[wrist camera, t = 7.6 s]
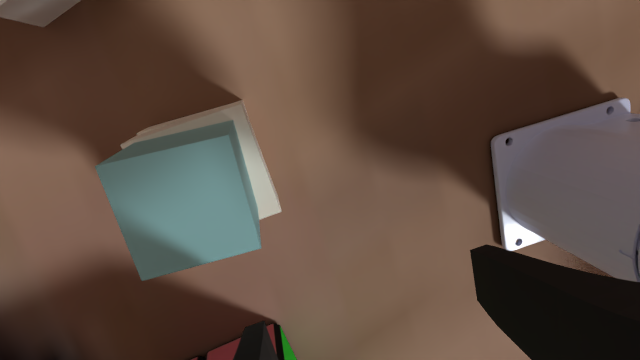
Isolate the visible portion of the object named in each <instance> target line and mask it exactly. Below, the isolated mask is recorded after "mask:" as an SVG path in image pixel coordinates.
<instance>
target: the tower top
mask: <svg viewBox="0 0 640 360" xmlns="http://www.w3.org/2000/svg"><path fill="white" fill-rule="evenodd" d="M230 120H233V121H234V124H235V128H236V131H237V135H238V139H239V142H240V146H241V149H242V153H243V157H244V160H245V164H246V167H247V171H248V174H249V178H250V182H251V185H252V189H253V192H254V196H255V199H256V203H257V207H258V215H259V220H260V219H263V218H265V217H268V216H271V215H273V214H276V213H279V212H282V211H281V207H280V203H279V200H278V196H277V193H276V190H275V187H274V185H273V182H272V179H271V177H270V174H269V171H268V169H267V166H266V163H265V161H264V158H263V155H262V153H261V150H260V147H259V145H258V142H257V139H256V137H255V134H254V131H253V129H252V126H251V123H250V121H249V118H248V115H247V113H246V110H245V107H244V105H243V102H242V100H240V101H237V102H234V103H231V104H228V105H225V106H222V107H219V108H216V109H213V110H210V111H207V112H204V113H201V114H199V115H196V116H193V117H190V118H187V119H184V120H181V121H178V122H175V123H172V124H169V125H166V126H163V127H160V128H157V129H154V130H151V131H148V132H145V133H142V134H139V135H137V136H135V137H133V138H131V139H129V140H128V141H126V142H124V143H122V144H120V145H121V147H122V149H124V148H126V147H128V146H129V145H131V144H133V143H136V142H140V141H144V140H148V139H153V138H157V137H161V136H166V135H170V134H174V133H179V132H183V131H187V130H192V129H196V128H200V127H205V126H209V125H213V124H217V123H222V122H226V121H230Z"/></svg>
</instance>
